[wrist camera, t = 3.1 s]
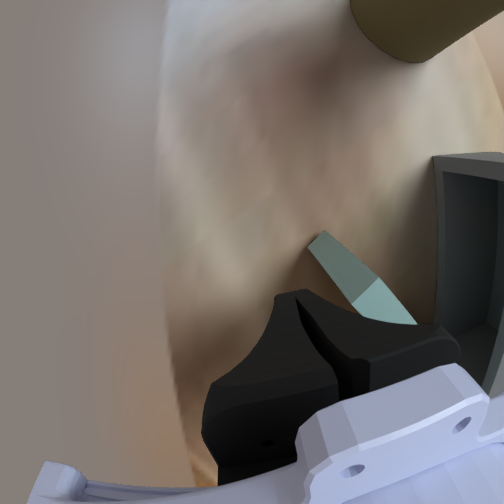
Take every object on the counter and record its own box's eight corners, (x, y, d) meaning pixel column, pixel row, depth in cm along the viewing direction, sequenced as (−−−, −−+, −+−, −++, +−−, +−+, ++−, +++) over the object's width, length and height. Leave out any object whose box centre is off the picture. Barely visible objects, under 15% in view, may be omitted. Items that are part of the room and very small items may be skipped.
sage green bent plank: (428, 348, 17) (475, 404, 12) (416, 360, 18) (460, 419, 12) (324, 229, 15) (379, 277, 9) (307, 247, 15) (351, 304, 9)
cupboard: (485, 322, 18) (539, 369, 11) (429, 347, 18) (482, 409, 11) (494, 151, 14) (575, 162, 7) (432, 156, 14) (526, 166, 7)
